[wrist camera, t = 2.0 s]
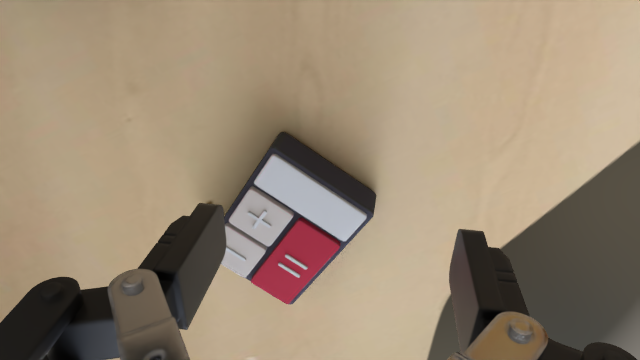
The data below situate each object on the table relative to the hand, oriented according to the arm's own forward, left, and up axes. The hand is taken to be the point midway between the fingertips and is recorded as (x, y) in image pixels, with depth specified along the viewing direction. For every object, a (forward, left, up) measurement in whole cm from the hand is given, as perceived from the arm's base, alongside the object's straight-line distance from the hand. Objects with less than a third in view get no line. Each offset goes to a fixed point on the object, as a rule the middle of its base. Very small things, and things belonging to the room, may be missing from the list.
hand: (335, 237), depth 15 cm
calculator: (-4, -16, -26) cm, 31 cm away
